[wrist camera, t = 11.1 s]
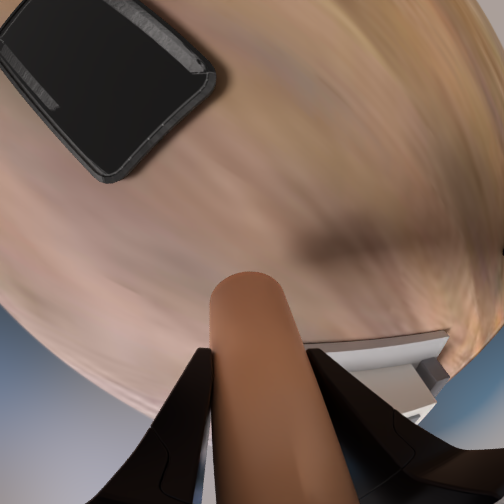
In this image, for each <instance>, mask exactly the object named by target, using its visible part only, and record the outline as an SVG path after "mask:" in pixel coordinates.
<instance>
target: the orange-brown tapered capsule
mask: <svg viewBox="0 0 504 504" xmlns="http://www.w3.org/2000/svg"><path fill="white" fill-rule="evenodd" d="M210 349H211V350H212V371H213V382H212V398H211V425H212V446H213V463H214V478H215V491H216V504H360V502H359V499H358V496H357V493H356V490H355V487H354V484H353V481H352V478H351V476H350V473H349V470H348V467H347V464H346V461H345V458H344V455H343V453H342V450H341V447H340V444H339V441H338V438H337V435H336V433H335V430H334V427H333V424H332V421H331V419H330V416H329V413H328V410H327V408H326V405H325V402H324V399H323V396H322V394H321V391H320V388H319V385H318V383H317V380H316V377H315V375H314V372H313V369H312V366H311V364H310V361H309V358H308V356H307V353H306V350H305V348H304V345H303V342H302V340H301V337H300V334H299V332H298V329H297V326H296V324H295V321H294V318H293V316H292V313H291V310H290V308H289V305H288V302H287V300H286V297H285V295H284V292H283V290H282V288H281V286H280V285H279V283H278V282H277V281H276V280H274V279H273V278H272V277H270V276H268V275H266V274H263V273H259V272H241V273H237V274H234V275H231V276H229V277H227V278H226V279H224V280H223V281H221V282H220V283H219V284H218V285H217V286H216V288H215V289H214V291H213V293H212V295H211V298H210Z"/></svg>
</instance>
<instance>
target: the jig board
mask: <svg viewBox="0 0 504 504" xmlns="http://www.w3.org/2000/svg"><path fill="white" fill-rule="evenodd" d="M448 338H449V335H448V334H447V333H446V332H445V331H444V330H442V331H436V332H430V333H423V334H416V335H409V336H401V337H393V338H384V339H374V340H364V341H352V342H337V343H319V344H303V345H304V348H305V350H307V349H308V348H320V349H321V350H323V351H324V352H325V353H326V354H327V355H329V356H330V357H331V358H332V359H333V360H335V361H336V362H337V363H338V364H340V365H341V366H342V367H343V368H344V369H346V370H347V371H348V372H355V371H364V370H372V369H380V368H387V367H394V366H400V365H406V364H412V366H413V367H414V369H415V370H416V372H417V373H418V374H419V376H420V377H421V379H422V380H423V382H424V383H425V385H426V386H427V388H428V389H429V391H430V392H431V394H432V395H433V397H434V398H435V397H436V396H437V394H438V393H439V392H440V391H441V389H442V388H443V387H444V385H445V384H446V382H447V381H448V380H449V378H450V376H449V375H448V373H447V372H446V371H445V369H444V368H443V367H442V365H441V364H440V363H439V362H438V360H437V357H438V355H439V354H440V352H441V350H442V349H443V347H444V345H445V343H446V342H447V340H448Z"/></svg>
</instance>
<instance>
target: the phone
mask: <svg viewBox="0 0 504 504" xmlns="http://www.w3.org/2000/svg"><path fill="white" fill-rule="evenodd" d="M0 69H1V70H2V71H3V72H4V74H5V75H6V76H7V78H8V79H9V80H10V82H11V83H12V84H13V85H14V87H15V88H16V89H17V90H18V92H19V93H20V94H21V95H22V97H23V98H24V99H25V100H26V102H27V103H28V104H29V105H30V106H31V108H32V109H33V110H34V111H35V112H36V114H37V115H38V116H39V117H40V118H41V119H42V121H43V122H44V123H45V124H46V125H47V126H48V128H49V129H50V130H51V131H52V132H53V133H54V134H55V135H56V137H57V138H58V139H59V140H60V141H61V142H62V143H63V144H64V145H65V147H66V148H67V149H68V150H69V151H70V152H71V153H72V154H73V155H74V156H75V158H76V159H77V160H78V161H79V162H80V163H81V164H82V165H83V166H84V167H85V168H86V169H87V170H88V171H89V172H90V173H91V175H92V176H93V177H94V178H96V179H97V180H98V181H100V182H102V183H106V184H109V183H115V182H117V181H119V180H121V179H123V178H124V177H126V176H127V175H128V174H129V173H130V172H131V171H132V170H133V169H134V168H135V167H134V166H135V165H137V164H138V163H139V162H140V161H141V160H142V159H143V158H144V157H145V156H146V155H147V154H148V153H149V152H150V150H151V149H152V148H153V147H154V146H155V145H156V144H157V143H158V142H159V141H160V140H161V139H162V138H163V137H164V136H165V135H166V134H167V133H169V132H170V131H171V130H172V129H173V128H174V127H175V126H176V125H177V124H178V123H179V122H180V121H181V120H182V119H183V118H184V117H186V116H187V115H188V114H189V113H190V112H191V111H192V110H193V109H195V108H196V107H197V106H198V105H199V104H200V103H201V102H203V101H204V100H205V99H206V98H207V97H208V96H209V95H210V94H211V93H212V92H213V90H214V88H215V86H216V72H215V68H214V67H213V66H212V64H211V63H210V62H209V61H208V60H207V59H206V58H205V57H204V56H203V55H202V54H201V53H200V52H199V51H198V50H197V49H196V48H195V47H193V46H192V45H191V44H190V43H189V42H188V41H187V40H186V39H185V38H184V37H182V36H181V35H180V34H179V33H178V32H177V31H176V30H174V29H173V28H172V27H171V26H170V25H169V24H168V23H166V22H165V21H164V20H163V19H162V18H160V17H159V16H158V15H157V14H155V13H154V12H153V11H152V10H151V9H149V8H148V7H147V6H145V5H144V4H143V3H142V2H140V1H139V0H23V1H22V2H21V3H20V4H19V5H18V6H17V8H16V9H15V10H14V11H13V12H12V14H11V15H10V16H9V17H8V19H7V20H6V21H5V23H4V24H3V25H2V27H1V28H0Z"/></svg>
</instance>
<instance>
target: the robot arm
mask: <svg viewBox="0 0 504 504" xmlns="http://www.w3.org/2000/svg"><path fill="white" fill-rule="evenodd" d="M503 256H504V250H503ZM306 353H307V356H308V358H309V361H310V364H311V366H312V369H313V372H314V375H315V377H316V380H317V383H318V385H319V388H320V391H321V394H322V396H323V399H324V402H325V405H326V408H327V410H328V413H329V416H330V419H331V421H332V424H333V427H334V430H335V433H336V435H337V438H338V441H339V444H340V447H341V450H342V453H343V455H344V458H345V461H346V464H347V467H348V470H349V473H350V476H351V478H352V481H353V484H354V487H355V490H356V493H357V496H358V499H359V502H360V504H504V448H500V449H485V450H463V449H459V448H456V447H454V446H452V445H450V444H448V443H446V442H444V441H443V440H441V439H439V438H437V437H436V436H434V435H433V434H430V433H429V432H428V431H426V430H424V429H423V428H421V427H420V426H418V425H416V424H415V423H413V422H412V421H411V420H409V419H408V418H407V417H405V416H404V415H402V414H401V413H400V412H399V411H397V410H396V409H394V408H393V407H392V406H391V405H389V404H388V403H387V402H386V401H384V400H383V399H382V398H381V397H379V396H378V395H377V394H376V393H374V392H373V391H372V390H370V389H369V388H368V387H367V386H365V385H364V384H363V383H362V382H360V381H359V380H358V379H357V378H356V377H354V376H353V375H352V374H351V373H349V372H348V371H347V370H346V369H344V368H343V367H342V366H341V365H340V364H338V363H337V362H336V361H335V360H333V359H332V358H331V357H330V356H329V355H327V354H326V353H325V352H324V351H323V350H321V349H320V348H308V349H307V350H306ZM212 382H213V371H212V350H211V349H210V348H198V349H197V350H196V352H195V353H194V355H193V357H192V358H191V360H190V362H189V363H188V365H187V367H186V368H185V370H184V372H183V373H182V375H181V377H180V378H179V380H178V381H177V383H176V385H175V386H174V388H173V390H172V391H171V393H170V395H169V396H168V398H167V400H166V401H165V403H164V404H163V406H162V408H161V409H160V411H159V413H158V414H157V416H156V418H155V419H154V421H153V422H152V424H151V428H149V429H148V430H147V432H146V434H145V435H144V437H143V438H142V440H141V441H140V443H139V445H138V446H137V447H136V449H135V450H134V452H133V453H132V454H131V455H130V457H129V458H128V459H127V461H126V462H125V463H124V464H123V465H122V466H121V468H120V469H119V470H118V471H117V472H116V473H115V475H114V476H113V477H112V478H111V479H110V480H109V481H108V482H107V484H106V485H105V486H104V487H103V488H102V489H101V490H100V491H99V492H98V494H97V495H95V496H94V497H93V498H92V499H91V500H90V501H88V502H87V503H85V504H201V503H202V493H203V482H204V473H205V464H206V455H207V446H208V437H209V428H210V420H211V398H212Z"/></svg>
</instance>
